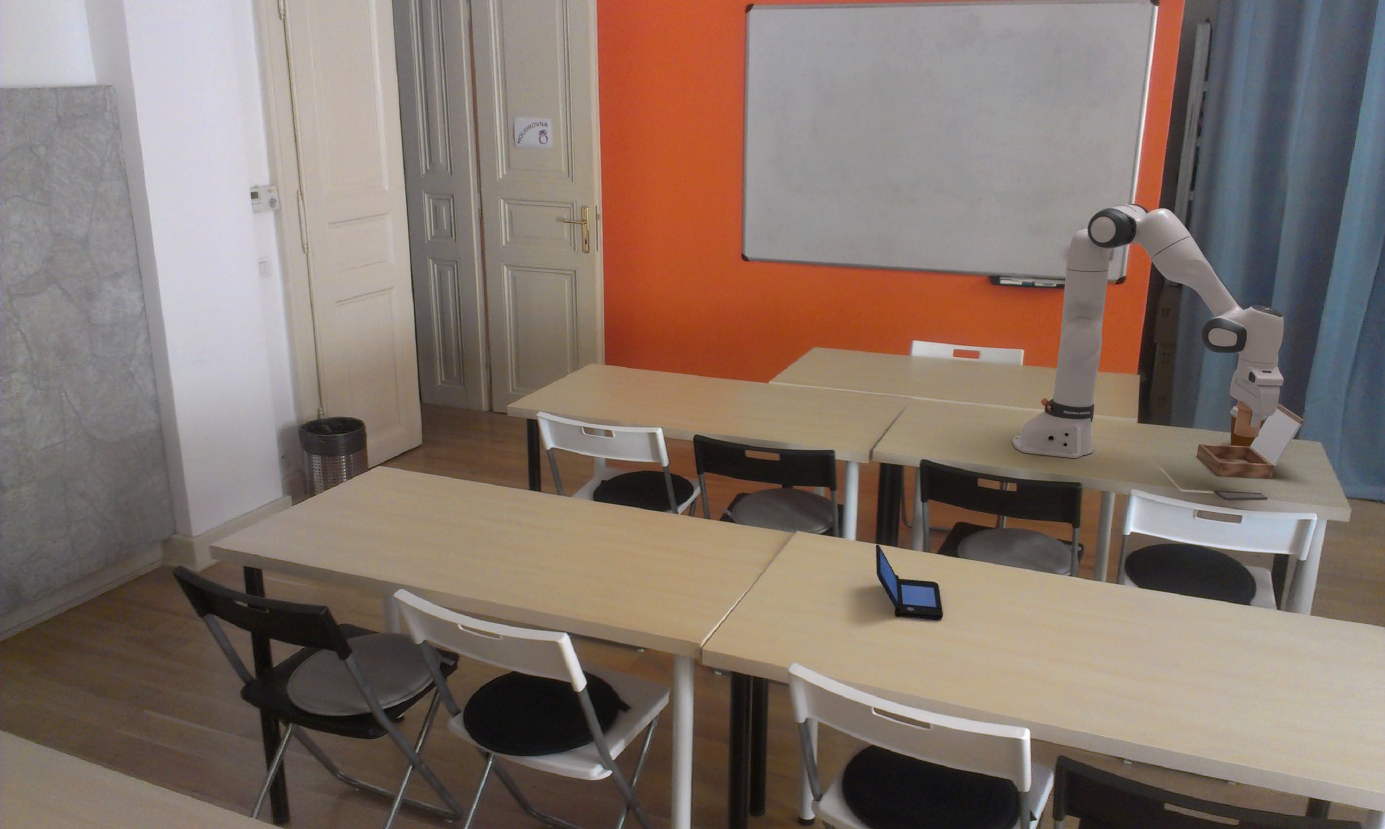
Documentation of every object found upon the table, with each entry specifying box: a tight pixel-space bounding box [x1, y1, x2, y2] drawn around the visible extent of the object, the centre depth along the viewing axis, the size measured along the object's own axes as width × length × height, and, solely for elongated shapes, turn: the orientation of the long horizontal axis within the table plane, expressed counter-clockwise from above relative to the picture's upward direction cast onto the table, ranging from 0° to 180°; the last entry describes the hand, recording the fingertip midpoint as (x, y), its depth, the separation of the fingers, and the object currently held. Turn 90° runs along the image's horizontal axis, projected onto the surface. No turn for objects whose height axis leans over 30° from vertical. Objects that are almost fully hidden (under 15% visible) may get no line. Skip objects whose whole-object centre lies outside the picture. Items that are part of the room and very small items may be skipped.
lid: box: [1250, 403, 1306, 467], centre depth 282 cm, size 14×16×1 cm
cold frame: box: [1196, 443, 1275, 480], centre depth 285 cm, size 14×16×4 cm
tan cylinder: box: [1234, 401, 1261, 437], centre depth 264 cm, size 6×6×8 cm
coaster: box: [1213, 490, 1269, 501], centre depth 270 cm, size 11×11×1 cm
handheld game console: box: [875, 544, 944, 621], centre depth 207 cm, size 16×13×9 cm
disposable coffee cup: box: [1229, 405, 1268, 447], centre depth 302 cm, size 10×10×12 cm
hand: (1247, 422), depth 264 cm, fingers closed on tan cylinder, 6 cm apart
